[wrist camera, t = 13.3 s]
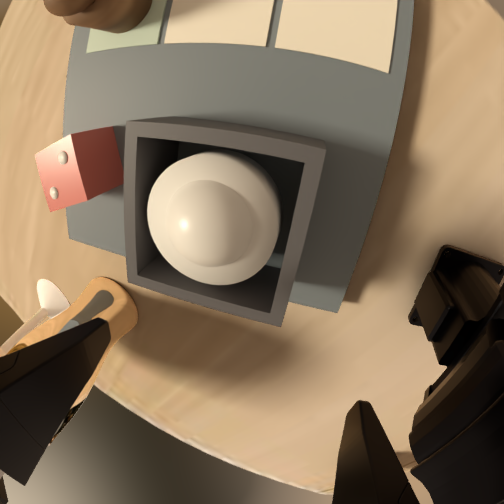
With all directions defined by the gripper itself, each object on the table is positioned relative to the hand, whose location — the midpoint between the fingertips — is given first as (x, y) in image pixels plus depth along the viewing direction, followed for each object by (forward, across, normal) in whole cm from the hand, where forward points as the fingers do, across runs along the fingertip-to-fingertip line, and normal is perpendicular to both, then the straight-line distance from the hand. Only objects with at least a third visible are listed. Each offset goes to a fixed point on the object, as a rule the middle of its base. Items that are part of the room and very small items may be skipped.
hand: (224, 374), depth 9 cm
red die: (+10, +13, -3) cm, 17 cm away
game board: (+11, +6, -7) cm, 15 cm away
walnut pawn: (+10, +12, -14) cm, 21 cm away
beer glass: (+12, +14, +11) cm, 21 cm away
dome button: (+9, +3, -2) cm, 9 cm away
